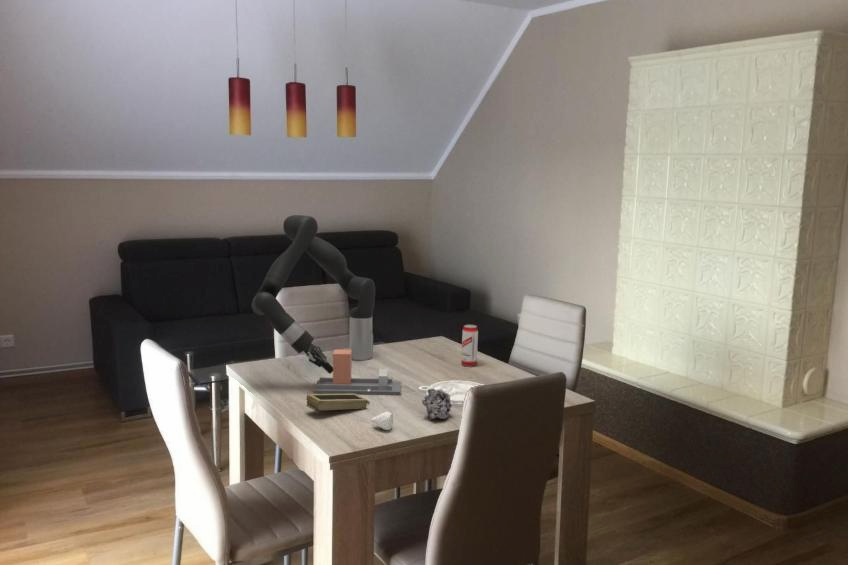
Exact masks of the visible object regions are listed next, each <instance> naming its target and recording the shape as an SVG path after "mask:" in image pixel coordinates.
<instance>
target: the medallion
mask: <svg viewBox="0 0 848 565" xmlns="http://www.w3.org/2000/svg"><path fill="white" fill-rule="evenodd" d="M478 385H484V384H482V383H481V382H475V381H468V380H458V379H457V380H445V381H443V380H441V381H439V382H434V383H431V384H430V385H428V386H427V385H422V386H418V392H419V393H421V394H423V393H424V394H425V396H426V395H428V394H429V393H428V390H429V389H436V391H437V390H439V389H442V390H443V392H445V393H447V394H449V395H450V403H451V404H452V407H455V408H464V407H463V402H464V398H465V395H466V393H467V391H468V390H469V389H470V388H471V387H474V386H478Z"/></svg>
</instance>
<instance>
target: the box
mask: <svg viewBox="0 0 848 565" xmlns="http://www.w3.org/2000/svg"><path fill="white" fill-rule="evenodd" d="M369 404H370V401H369V400H368V399H367V398H365V397H363V396H361V395H357V394H314V393H308V394H306V405H305V406H306V407H307V408H309V409H311V410H313V411H314V412H322V411H329V412H330V413H331V412H333V411H332V410H334V411H335V410H336V411H337V410H338V411H339V410H341V411H342V410H365V409H367V405H369Z"/></svg>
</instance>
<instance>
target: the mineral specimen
mask: <svg viewBox="0 0 848 565" xmlns="http://www.w3.org/2000/svg"><path fill="white" fill-rule="evenodd" d="M428 393H429V394H428V395H426V394H425V396H424V399H421V402H422V405H423V406H425V408H426V413H427V416H428V420H429V421H432V420H434V419H435V420H436V419H437V418H438V419H443V420H444V419H448V417H449V414H450V412H451V408H452V407H453V406H452V404H451V403H450V395H449V394H447V393H445V392H443V390H442V389H439V390H437V391H436V389H429V390H428Z"/></svg>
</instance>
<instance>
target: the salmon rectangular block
mask: <svg viewBox="0 0 848 565" xmlns="http://www.w3.org/2000/svg"><path fill="white" fill-rule="evenodd" d="M352 361H353V359H352V350H349V349H334V351H333V353H332V367H333V372H332V378H333V384H345V385H351V378H352Z"/></svg>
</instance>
